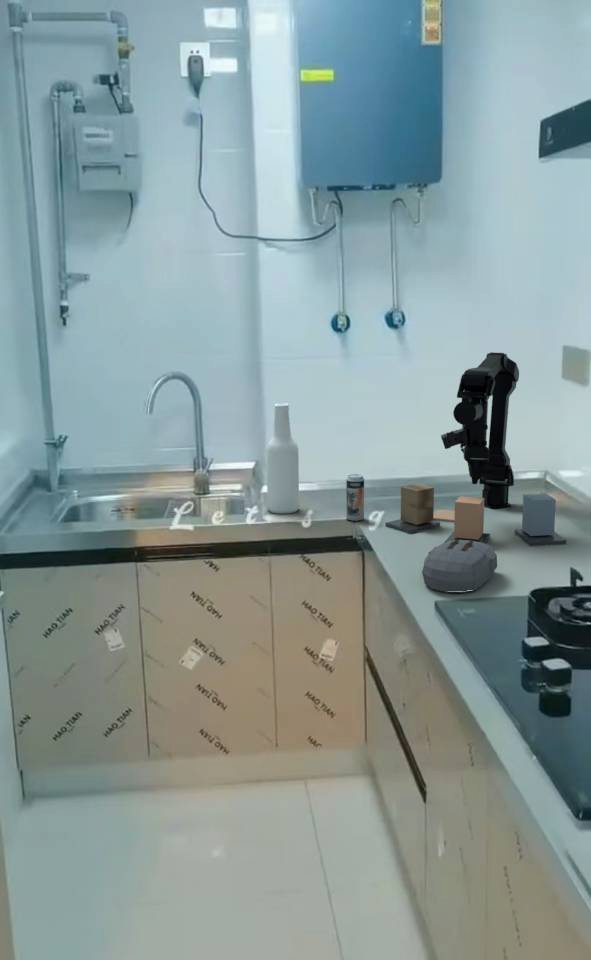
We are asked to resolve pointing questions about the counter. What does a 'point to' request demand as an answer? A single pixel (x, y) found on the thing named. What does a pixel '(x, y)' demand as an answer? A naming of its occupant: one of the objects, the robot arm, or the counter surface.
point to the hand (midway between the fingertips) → (473, 480)
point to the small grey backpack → (459, 565)
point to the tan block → (469, 517)
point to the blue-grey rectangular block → (538, 514)
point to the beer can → (355, 497)
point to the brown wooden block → (417, 503)
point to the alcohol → (282, 465)
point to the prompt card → (444, 515)
